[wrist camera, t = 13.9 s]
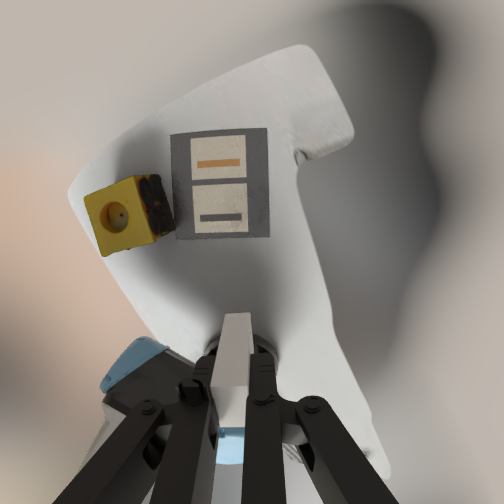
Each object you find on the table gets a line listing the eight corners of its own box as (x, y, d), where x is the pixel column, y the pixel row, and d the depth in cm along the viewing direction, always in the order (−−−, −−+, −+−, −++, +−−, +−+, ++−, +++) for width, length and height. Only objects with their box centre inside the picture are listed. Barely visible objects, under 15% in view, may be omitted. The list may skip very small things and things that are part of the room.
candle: (177, 228, 47) (156, 243, 37) (129, 243, 48) (102, 260, 38) (160, 172, 44) (135, 173, 35) (112, 191, 45) (81, 197, 36)
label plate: (269, 236, 47) (269, 236, 47) (176, 239, 47) (176, 239, 47) (266, 128, 42) (266, 128, 42) (170, 135, 42) (170, 135, 42)
